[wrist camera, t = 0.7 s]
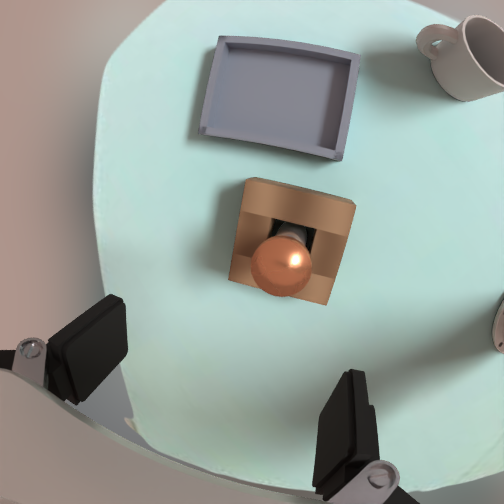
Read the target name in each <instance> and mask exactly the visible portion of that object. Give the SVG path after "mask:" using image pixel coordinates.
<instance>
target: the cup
mask: <svg viewBox="0 0 504 504" xmlns="http://www.w3.org/2000/svg"><path fill="white" fill-rule="evenodd" d="M439 40H442V41H441V42H440V43H439V44H438V45H437V46H436V47H435V46H433V45H431V44H432V43H434V42H436V41H439ZM416 43H417V46H418V49H419V51H420V52H421V53H422V54H423V55H425V56H427V57H428V58H430V60H431V68H432V71H433V74H434V76H435V78H436V80H437V81H438V83H439V84H440V85H441V87H442V88H443V89H444V90H445V91H446V92H447V93H448V94H449V95H451V96H452V97H454V98H456V99H458V100H461V101H468V102H470V101H474V100H477V99H481V98H484V97H487V96H490V95H493V94H496V93H500V92H503V91H504V30H503V29H502V28H501V27H500V26H499V25H497V24H496V23H495V22H493V21H492V20H490V19H488V18H486V17H483V16H479V15H471V16H469V17H467V18H466V19H465V20H464V21H462V22H461V23H460V24H459V25H458V26H457V27H456V28H455V29H454V28H452V27H449V26H445V25H439V24H433V25H429V26H426V27H425V28H423V29H422V30H421V31H420V32H419V34H418V35H417V37H416Z"/></svg>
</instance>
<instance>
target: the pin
mask: <svg viewBox="0 0 504 504" xmlns="http://www.w3.org/2000/svg"><path fill="white" fill-rule="evenodd" d="M306 239H307V231H306V228H305V227H304V226H303V225H299V224H295V223H291V222H287V221H286V222H285V223H283V224H282V225H281V227H280V228H279V230H278V232H277V234H276V235H275V236H273V237H271V238H268V239H266V240H265V241H264V242H262V243H261V244H260V246H259V247H258V248H257V250H256V251H255V253H254V254H253V257H252V260H251V273H252V277H253V279H254V281H255V282H256V284H257V285H258V286H259V287H260V288H261V289H262V290H263V291H265V292H267V293H269V294H271V295H274V296H280V297H285V296H291V295H294V294H296V293H298V292H300V291H301V290H302V289H303V288H304V287H305V286H306V285H307V283H308V282H309V280H310V277H311V271H312V259H311V256H310V253H309V251H308V249H307V248H306V247H305V246H306Z"/></svg>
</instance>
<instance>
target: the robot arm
mask: <svg viewBox="0 0 504 504" xmlns="http://www.w3.org/2000/svg"><path fill="white" fill-rule="evenodd" d="M492 339H493V342H494V345H495V346H496V348H497V349H498V350H499V352H501V353H503V354H504V300H503V301H502V303H501V305H500V307H499V309H498V312H497V314H496V317H495V320H494V324H493V330H492ZM48 341H49V342H48V343H47V344H45V343H44V341H42V340H41V339H39V338H27V339H24V340H23V341H21V342H20V343H19V344H18V346H17V348H16V350H0V504H420V503H418V502H417V501H416V500H415V499H413V498H412V497H411V496H410V495H409V494H408V493H406V492H405V491H404V490H403V489H402V488H400V487H399V486H398V484H399V480H400V475H399V472H398V470H397V468H396V467H395V466H394V465H393V464H392V463H390V462H388V461H384V460H380V456H379V443H378V433H377V424H376V415H375V409H374V406H373V405H369V402H368V393H367V385H366V378H365V372H364V371H359V370H354V369H350V370H349V371H348V372H346V371H345V372H344V373H343V375H342V377H341V378H340V380H339V382H338V384H337V386H336V387H335V389H334V391H333V393H332V395H331V396H330V398H329V400H328V401H327V403H326V405H325V407H324V408H323V410H322V412H321V414H320V416H319V422H318V435H317V445H316V455H315V465H314V473H313V481H312V486H313V487H316V492H315V494H320V495H323V500H324V501H320V500H315V499H309V498H304V497H298V496H293V495H287V494H282V493H277V492H273V491H268V490H264V489H259V488H255V487H251V486H247V485H243V484H239V483H236V482H232V481H229V480H225V479H222V478H219V477H216V476H213V475H210V474H207V473H204V472H200V471H198V470H195V469H192V468H190V467H187V466H184V465H181V464H179V463H177V462H174V461H172V460H169V459H167V458H165V457H162V456H160V455H158V454H156V453H153V452H151V451H149V450H147V449H145V448H143V447H141V446H139V445H136V444H135V443H133V442H131V441H129V440H127V439H125V438H123V437H121V436H119V435H117V434H115V433H114V432H112V431H110V430H108V429H107V428H105V427H103V426H101V425H100V424H98V423H96V422H95V421H93V420H91V419H90V418H88V417H87V416H85V415H83V414H82V413H80V412H79V411H77V410H76V409H74V408H73V407H71V406H70V405H68V404H67V403H65V402H64V401H65V400H66V399H67V400H69V401H70V402H72V403H73V404H75V405H78V403H79V402H80V401H81V402H83V401H85V400H86V399H87V398H88V396H89V395H90V394H91V393H92V392H93V391H94V390H95V389H96V388H97V387H98V385H100V383H101V382H102V381H103V380H104V379H105V378H106V377H107V376H108V375H109V374H110V373H111V371H112V370H113V369H114V368H115V367H116V366H117V365H118V364H119V363H120V362H121V361H122V360H123V359H124V358H125V356H126V355H127V352H128V342H127V326H126V305H125V303H123V299H122V298H120V297H117V296H115V295H113V294H109V295H108V296H106V297H105V298H104V299H102V300H101V301H99V302H98V303H96V304H95V305H94V306H92V307H91V308H90V309H88V310H87V311H85V312H84V313H83V314H81V315H80V316H79V317H77V318H76V319H75V320H73V321H72V322H71V323H69V324H68V325H67V326H65V327H64V328H63V329H61V330H60V331H59V332H58V333H56V334H55V335H53V336H52V337H51V338H49V340H48Z"/></svg>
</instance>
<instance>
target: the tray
mask: <svg viewBox="0 0 504 504" xmlns="http://www.w3.org/2000/svg"><path fill="white" fill-rule="evenodd" d="M360 57H361V55H359V54H355V53H351V52H347V51H342V50H338V49H334V48H329V47H324V46H319V45H313V44H307V43H301V42H295V41H287V40H279V39H270V38H259V37H244V36H219V38H218V42H217V46H216V50H215V54H214V58H213V63H212V67H211V71H210V76H209V80H208V85H207V90H206V94H205V99H204V104H203V109H202V114H201V120H200V125H199V131H198V134H202V135H207V136H215V137H222V138H229V139H236V140H242V141H248V142H254V143H259V144H265V145H270V146H275V147H280V148H285V149H290V150H295V151H299V152H304V153H308V154H313V155H317V156H321V157H325V158H329V159H333V160H337V161H342V159H343V154H344V149H345V144H346V139H347V134H348V129H349V124H350V119H351V113H352V107H353V102H354V96H355V90H356V84H357V77H358V71H359V64H360Z"/></svg>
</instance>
